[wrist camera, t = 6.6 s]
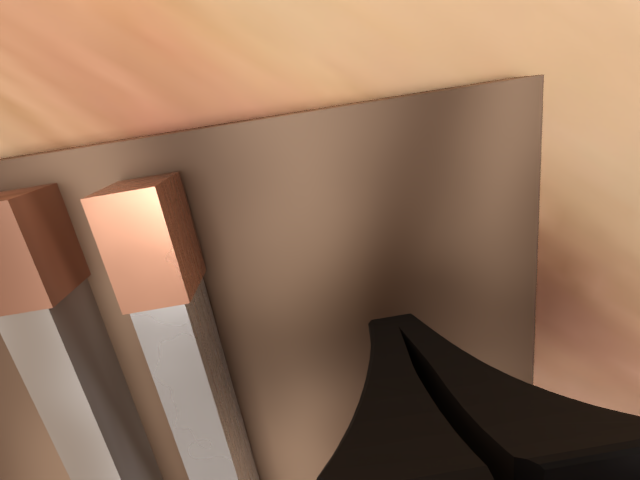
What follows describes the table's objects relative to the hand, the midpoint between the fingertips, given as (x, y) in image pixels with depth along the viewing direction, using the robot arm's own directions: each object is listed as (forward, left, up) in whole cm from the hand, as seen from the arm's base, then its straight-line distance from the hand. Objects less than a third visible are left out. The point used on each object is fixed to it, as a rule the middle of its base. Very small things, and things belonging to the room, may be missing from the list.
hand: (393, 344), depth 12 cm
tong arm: (+6, +1, -1) cm, 6 cm away
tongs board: (+6, +2, -3) cm, 7 cm away
